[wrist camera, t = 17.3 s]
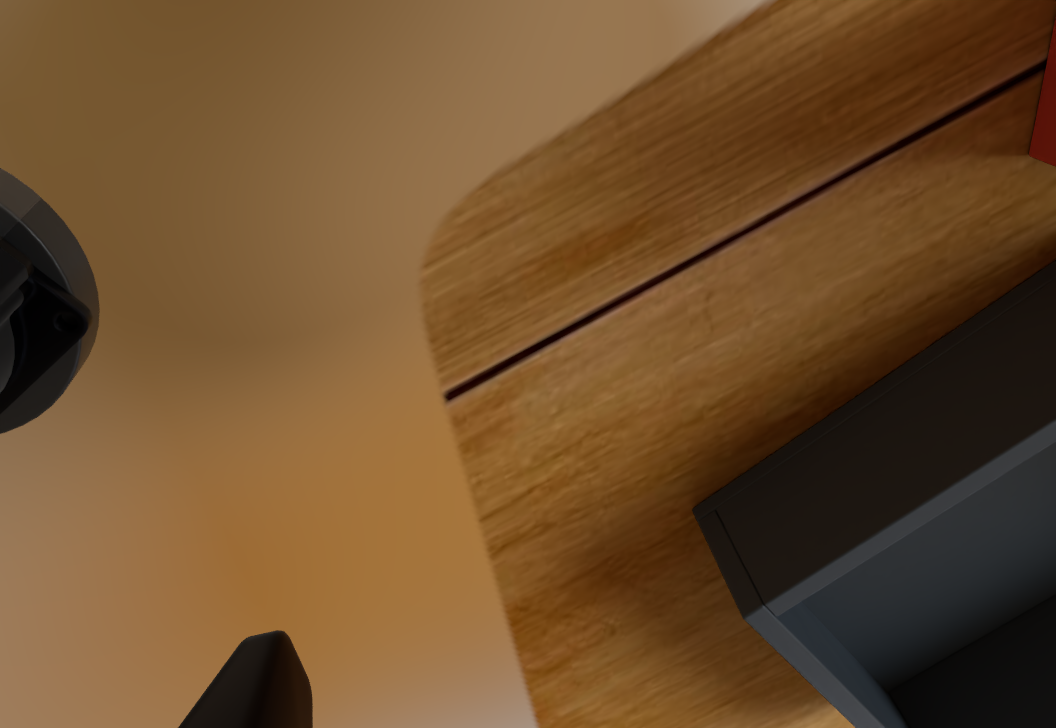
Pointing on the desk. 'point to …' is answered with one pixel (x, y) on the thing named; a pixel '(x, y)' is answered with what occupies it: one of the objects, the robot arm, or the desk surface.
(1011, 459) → the dark gray tray
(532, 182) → the desk surface
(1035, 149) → the package
